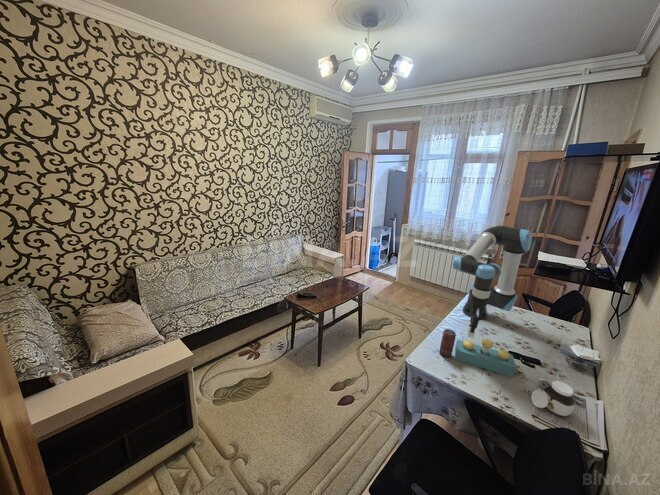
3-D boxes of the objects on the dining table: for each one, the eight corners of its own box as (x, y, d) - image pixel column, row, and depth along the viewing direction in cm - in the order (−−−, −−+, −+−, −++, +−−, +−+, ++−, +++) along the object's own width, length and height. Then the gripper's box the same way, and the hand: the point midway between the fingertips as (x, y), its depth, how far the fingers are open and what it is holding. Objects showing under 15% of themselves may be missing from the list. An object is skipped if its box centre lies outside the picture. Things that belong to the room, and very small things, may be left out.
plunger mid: (478, 349, 140) (481, 337, 138) (489, 352, 139) (492, 340, 136) (479, 355, 136) (482, 343, 134) (490, 358, 134) (493, 345, 132)
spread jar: (573, 416, 110) (582, 394, 107) (556, 424, 106) (565, 401, 103) (542, 393, 121) (550, 372, 117) (525, 400, 117) (533, 378, 113)
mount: (455, 348, 148) (457, 339, 146) (509, 364, 138) (512, 354, 136) (455, 359, 139) (457, 350, 138) (513, 377, 129) (516, 367, 128)
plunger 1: (460, 351, 145) (463, 339, 142) (470, 353, 143) (473, 342, 140) (460, 356, 140) (463, 344, 138) (471, 359, 139) (474, 347, 136)
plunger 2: (494, 360, 138) (497, 348, 136) (505, 363, 137) (508, 351, 134) (495, 366, 134) (499, 354, 132) (506, 370, 132) (510, 357, 130)
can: (436, 352, 145) (440, 330, 140) (445, 349, 147) (449, 327, 143) (444, 359, 139) (449, 336, 135) (453, 356, 142) (458, 334, 138)
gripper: (471, 288, 138) (462, 327, 146) (472, 299, 127) (462, 341, 134) (487, 292, 135) (477, 331, 143) (490, 303, 124) (479, 346, 131)
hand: (470, 336), depth 138 cm, fingers closed
